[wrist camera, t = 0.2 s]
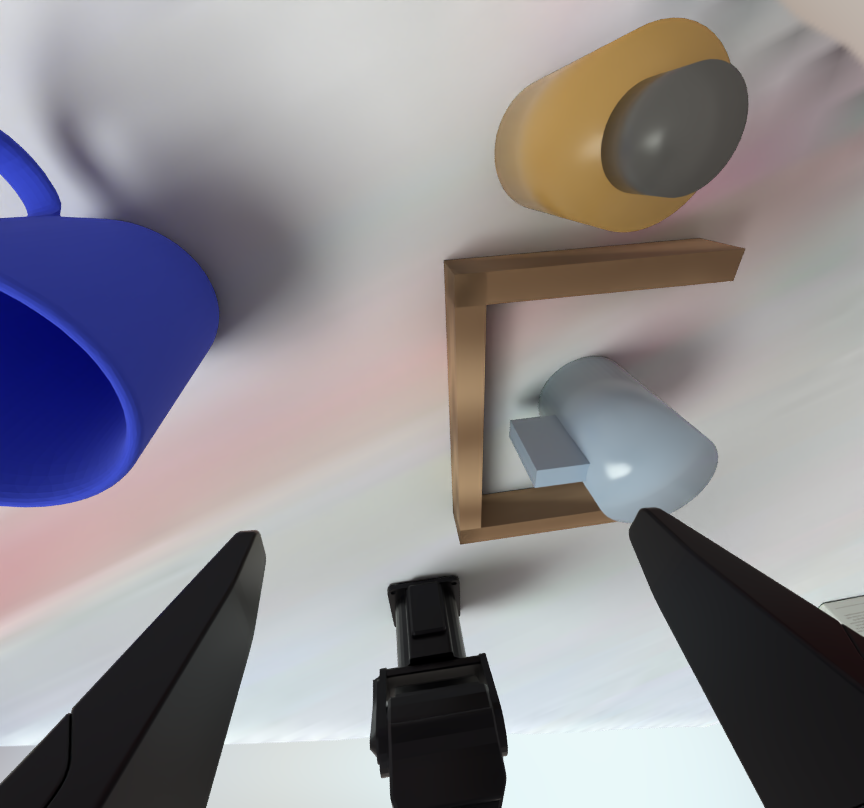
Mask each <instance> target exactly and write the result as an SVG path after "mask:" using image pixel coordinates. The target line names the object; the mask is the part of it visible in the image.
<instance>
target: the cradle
mask: <svg viewBox="0 0 864 808" xmlns="http://www.w3.org/2000/svg"><path fill="white" fill-rule="evenodd" d="M744 251H745V248H740V247H736V246H732V245H727V244H723V243H718V242H714V241H709V240H705V239H701V238H696V239H685V240H674V241H662V242H651V243H639V244H628V245H616V246H605V247H593V248H582V249H570V250H559V251H547V252H536V253H524V254H513V255H501V256H490V257H478V258H467V259H455V260H444V277H445V304H446V332H447V359H448V386H449V414H450V441H451V468H452V496H453V514H454V519H455V523H456V527H457V532H458V536H459V541H460V544H467V543H474V542H481V541H488V540H495V539H501V538H508V537H515V536H522V535H529V534H536V533H542V532H549V531H556V530H563V529H570V528H577V527H583V526H590V525H597V524H604V523H611V522H618V521H615V520H613V519H611V518H609V517H607V516H606V515H605V514H604V513H603V512H602V511H601V509H600V508H599V506H598V505H597V503H596V502H595V500H594V499H593V497H592V496H591V494H590V492H589V491H588V489H587V488H586V486H585V485H584V483H583V482H575V483H568V484H560V485H553V486H546V487H538V488H529V489H522V490H515V491H507V492H500V493H493V494H485V495H482V466H483V425H484V383H485V342H486V305H489V304H499V303H510V302H520V301H530V300H541V299H551V298H561V297H571V296H582V295H592V294H602V293H613V292H623V291H633V290H644V289H654V288H664V287H674V286H685V285H695V284H705V283H716V282H726V281H733V280H734V277H735V275H736V272H737V270H738V267H739V264H740V262H741V259H742V256H743V254H744Z"/></svg>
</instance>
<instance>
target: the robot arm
mask: <svg viewBox="0 0 864 808" xmlns="http://www.w3.org/2000/svg"><path fill="white" fill-rule="evenodd" d="M629 538H630V541H631V543H632V546H633V548H634V550H635V553H636V555H637V558H638V560H639V562H640V565H641V567H642V570H643V572H644V574H645V577H646V579H647V582H648V584H649V586H650V589H651V591H652V593H653V596H654V598H655V600H656V602H657V604H658V606H659V608H660V610H661V612H662V614H663V616H664V617H665V619H666V621H667V623H668V625H669V627H670V629H671V631H672V633H673V635H674V636H675V638H676V640H677V642H678V644H679V646H680V648H681V650H682V652H683V653H684V655H685V657H686V659H687V661H688V663H689V665H690V667H691V669H692V670H693V672H694V674H695V676H696V678H697V680H698V682H699V684H700V686H701V687H702V689H703V691H704V693H705V695H706V697H707V699H708V701H709V703H710V705H711V706H712V708H713V710H714V712H715V714H716V716H717V718H718V720H719V722H720V723H721V725H722V727H723V729H724V731H725V733H726V735H727V737H728V739H729V740H730V742H731V744H732V746H733V748H734V750H735V752H736V754H737V756H738V757H739V759H740V761H741V763H742V765H743V767H744V769H745V771H746V773H747V775H748V776H749V778H750V780H751V782H752V784H753V786H754V788H755V790H756V792H757V793H758V795H759V797H760V799H761V801H762V803H763V805H764V807H765V808H864V637H863V636H862V635H860V634H859V633H857V632H855V631H854V630H852V629H851V628H849V627H848V626H846V625H844V624H840V622H839V621H838V620H836V619H835V618H833V617H832V616H830V615H828V614H827V613H825V612H824V611H822V610H820V609H819V608H817V607H816V606H814V605H813V604H811V603H809V602H808V601H806V600H805V599H803V598H801V597H800V596H798V595H797V594H795V593H793V592H792V591H790V590H789V589H787V588H786V587H784V586H782V585H781V584H779V583H778V582H776V581H774V580H773V579H771V578H770V577H768V576H767V575H765V574H763V573H762V572H760V571H759V570H757V569H755V568H754V567H752V566H751V565H749V564H748V563H746V562H744V561H743V560H741V559H740V558H738V557H736V556H735V555H733V554H732V553H730V552H728V551H727V550H725V549H724V548H722V547H721V546H719V545H717V544H716V543H714V542H713V541H711V540H709V539H708V538H706V537H705V536H703V535H702V534H700V533H698V532H697V531H695V530H694V529H692V528H690V527H689V526H687V525H686V524H684V523H683V522H681V521H679V520H678V519H676V518H675V517H673V516H671V515H670V514H668V513H667V512H665V511H663V510H662V509H660V508H657V507H648V508H641V509H640V510H639V511H638V513H637V515H636V517H635V519H634V521H633V523H632V525H631V527H630V529H629ZM265 565H266V554H265V550H264V546H263V543H262V539H261V535H260V533H259V532H258V531H257V530H251V531H240V532H238V533H236V534H235V535H234V536H233V537H232V538H231V539H230V540H229V541H228V542H227V543H226V544H225V546H224V547H223V548H222V549H221V550H220V551H219V552H218V553H217V554H216V555H215V556H214V557H213V558H212V559H211V561H210V562H209V563H208V564H207V565H206V566H205V567H204V568H203V569H202V570H201V571H200V572H199V573H198V574H197V575H196V577H195V578H194V579H193V580H192V581H191V582H190V583H189V584H188V585H187V586H186V587H185V588H184V589H183V590H182V592H181V593H180V594H179V595H178V596H177V597H176V598H175V599H174V600H173V601H172V602H171V603H170V604H169V605H168V606H167V608H166V609H165V610H164V611H163V612H162V613H161V614H160V615H159V616H158V617H157V618H156V619H155V620H154V621H153V623H152V624H151V625H150V626H149V627H148V628H147V629H146V630H145V631H144V632H143V633H142V634H141V635H140V636H139V637H138V639H137V640H136V641H135V642H134V643H133V644H132V645H131V646H130V647H129V648H128V649H127V650H126V651H125V652H124V654H123V655H122V656H121V657H120V658H119V659H118V660H117V661H116V662H115V663H114V664H113V665H112V666H111V667H110V669H109V670H108V671H107V672H106V673H105V674H104V675H103V676H102V677H101V678H100V679H99V680H98V681H97V682H96V683H95V685H94V686H93V687H92V688H91V689H90V690H89V691H88V692H87V693H86V694H85V695H84V696H83V697H82V698H81V700H80V701H79V702H78V703H77V704H76V705H75V706H74V707H73V708H72V711H71V713H68V714H66V715H65V716H64V717H63V718H62V720H61V721H60V722H59V723H58V724H57V725H56V726H55V727H54V728H53V729H52V730H51V731H50V732H49V733H48V735H47V736H46V737H45V738H44V739H43V740H42V741H41V742H40V743H39V744H38V745H37V746H36V747H35V748H34V749H33V750H32V751H31V752H30V753H29V755H27V756H26V758H25V759H24V760H23V761H22V762H21V763H20V764H19V765H18V766H17V767H16V768H15V769H14V770H13V771H12V772H11V773H10V774H9V775H8V776H7V777H6V778H5V779H4V780H3V782H1V783H0V808H206V806H207V802H208V799H209V795H210V791H211V788H212V784H213V781H214V777H215V774H216V770H217V766H218V763H219V759H220V756H221V752H222V748H223V745H224V741H225V738H226V734H227V731H228V727H229V724H230V720H231V716H232V713H233V709H234V706H235V702H236V698H237V695H238V691H239V688H240V684H241V681H242V677H243V673H244V670H245V666H246V663H247V659H248V656H249V652H250V648H251V644H252V640H253V635H254V630H255V625H256V619H257V613H258V607H259V601H260V595H261V589H262V583H263V577H264V571H265ZM387 592H388V598H389V603H390V608H391V612H392V617H393V622H394V626H395V627H396V635H397V657H398V667H397V668H391V669H387V668H382V669H380V676H379V677H378V678H376V679H375V680H373V711H372V722H371V733H370V750H371V751H372V752H373V753H374V754H375V756H376V757H377V762H378V764H379V765H380V774H381V778H386V777H390V797H391V803H392V806H393V808H501V806H502V802H503V796H504V791H505V786H506V772H505V766H504V762H503V756H507V754H508V745H507V736H506V729H505V723H504V718H503V714H502V709H501V705H500V702H499V698H498V695H497V691H496V688H495V685H494V681H493V678H492V674H491V671H490V668H489V664H488V661H487V657H486V654H485V653H482V654H479V655H477V656H470V657H466V654H465V648H464V643H463V637H462V632H461V626H460V621H459V616H460V587H459V578H458V577H456V576H451V577H445V578H438V579H432V580H425V581H419V582H412V583H406V584H399V585H392V586H390V587H388V589H387Z"/></svg>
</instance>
